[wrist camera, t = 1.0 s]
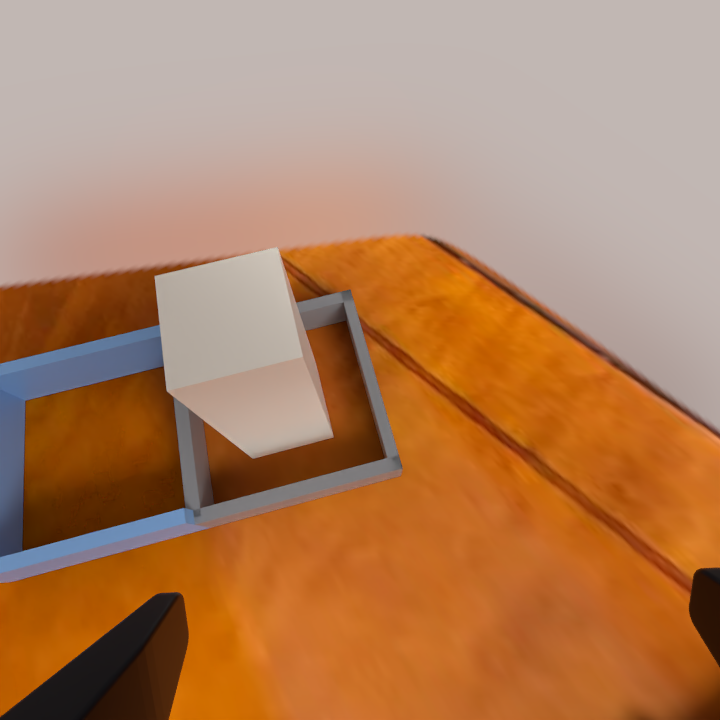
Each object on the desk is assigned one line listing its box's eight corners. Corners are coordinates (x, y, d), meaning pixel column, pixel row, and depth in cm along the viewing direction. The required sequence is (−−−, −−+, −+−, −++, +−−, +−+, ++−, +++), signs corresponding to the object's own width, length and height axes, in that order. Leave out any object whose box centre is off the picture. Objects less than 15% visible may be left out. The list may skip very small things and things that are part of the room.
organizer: (352, 308, 26) (349, 278, 23) (400, 475, 22) (403, 464, 19) (15, 392, 25) (-31, 371, 22) (10, 582, 21) (-46, 585, 18)
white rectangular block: (333, 437, 23) (302, 356, 14) (253, 458, 23) (166, 391, 14) (316, 363, 25) (277, 246, 15) (240, 383, 24) (154, 276, 15)
